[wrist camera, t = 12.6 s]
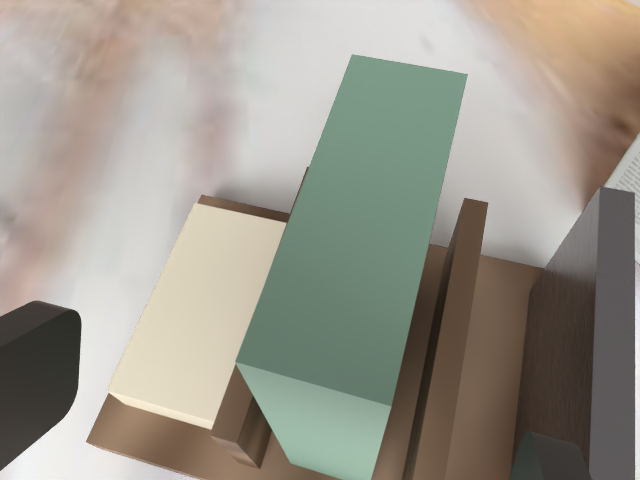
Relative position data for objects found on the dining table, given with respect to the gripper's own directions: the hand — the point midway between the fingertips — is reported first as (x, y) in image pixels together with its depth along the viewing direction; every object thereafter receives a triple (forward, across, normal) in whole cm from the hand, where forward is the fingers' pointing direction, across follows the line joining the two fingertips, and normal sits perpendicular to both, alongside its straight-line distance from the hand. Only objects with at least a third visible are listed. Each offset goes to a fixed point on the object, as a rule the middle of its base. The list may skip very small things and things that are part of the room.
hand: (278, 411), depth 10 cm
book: (+16, 0, +7) cm, 17 cm away
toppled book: (+16, +7, +7) cm, 19 cm away
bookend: (+16, -8, +7) cm, 19 cm away
